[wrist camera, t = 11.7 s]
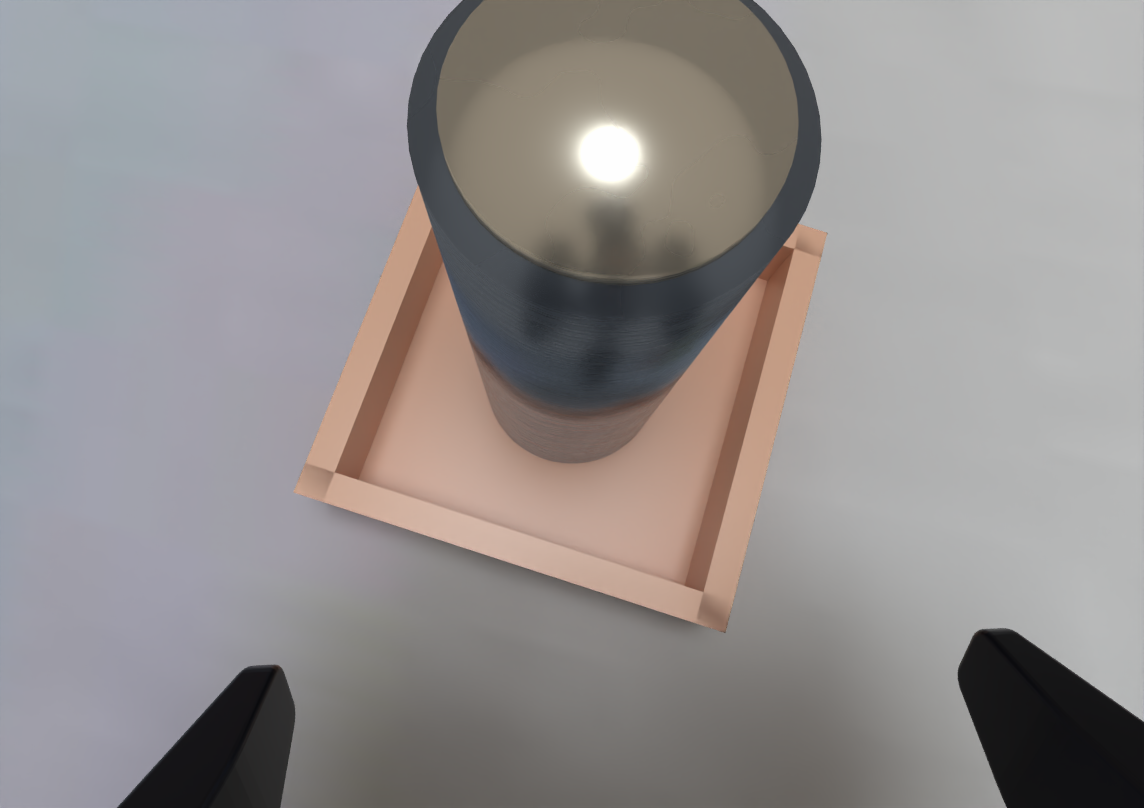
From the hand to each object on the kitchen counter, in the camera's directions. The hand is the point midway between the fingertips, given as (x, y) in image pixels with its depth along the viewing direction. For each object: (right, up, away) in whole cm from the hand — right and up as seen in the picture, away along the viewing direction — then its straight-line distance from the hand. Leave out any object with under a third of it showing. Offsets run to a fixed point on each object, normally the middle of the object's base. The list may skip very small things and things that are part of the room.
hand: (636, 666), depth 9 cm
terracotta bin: (-1, +4, +13) cm, 14 cm away
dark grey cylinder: (-1, +4, +12) cm, 13 cm away
